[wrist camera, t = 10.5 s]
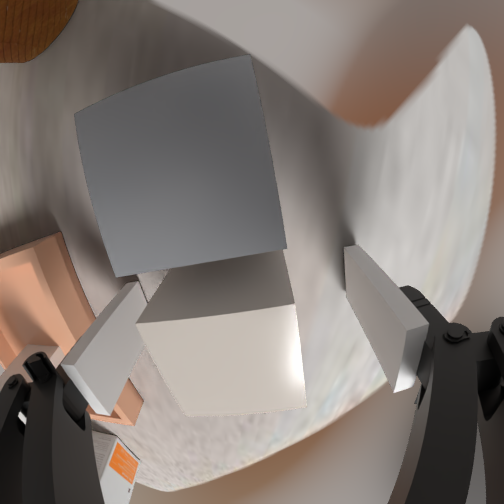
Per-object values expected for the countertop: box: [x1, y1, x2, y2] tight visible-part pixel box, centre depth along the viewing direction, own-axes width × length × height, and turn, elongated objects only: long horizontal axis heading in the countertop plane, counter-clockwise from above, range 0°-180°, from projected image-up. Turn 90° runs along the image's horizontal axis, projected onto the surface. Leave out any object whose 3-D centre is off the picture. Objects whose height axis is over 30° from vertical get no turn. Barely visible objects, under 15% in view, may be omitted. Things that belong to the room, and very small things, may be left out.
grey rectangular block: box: [74, 54, 287, 277], centre depth 8 cm, size 4×4×6 cm
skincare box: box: [92, 430, 141, 504], centre depth 16 cm, size 6×4×12 cm
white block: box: [0, 344, 65, 425], centre depth 13 cm, size 4×4×6 cm
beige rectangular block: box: [135, 250, 307, 417], centre depth 11 cm, size 4×4×6 cm
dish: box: [0, 232, 144, 426], centre depth 14 cm, size 13×13×2 cm
